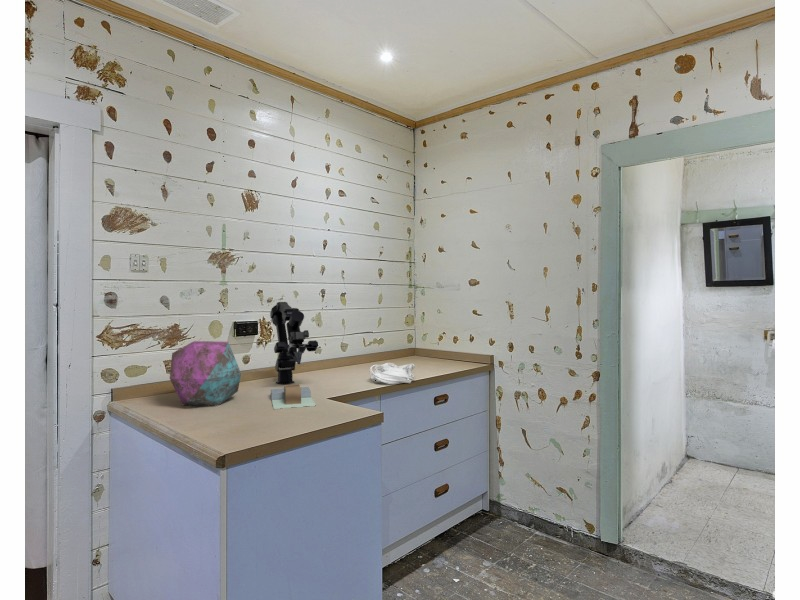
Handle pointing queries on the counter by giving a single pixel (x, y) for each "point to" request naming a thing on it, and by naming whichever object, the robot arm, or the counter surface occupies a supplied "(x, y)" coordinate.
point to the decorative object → (205, 373)
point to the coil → (392, 373)
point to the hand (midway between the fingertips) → (299, 363)
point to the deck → (279, 393)
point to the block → (292, 394)
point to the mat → (281, 404)
